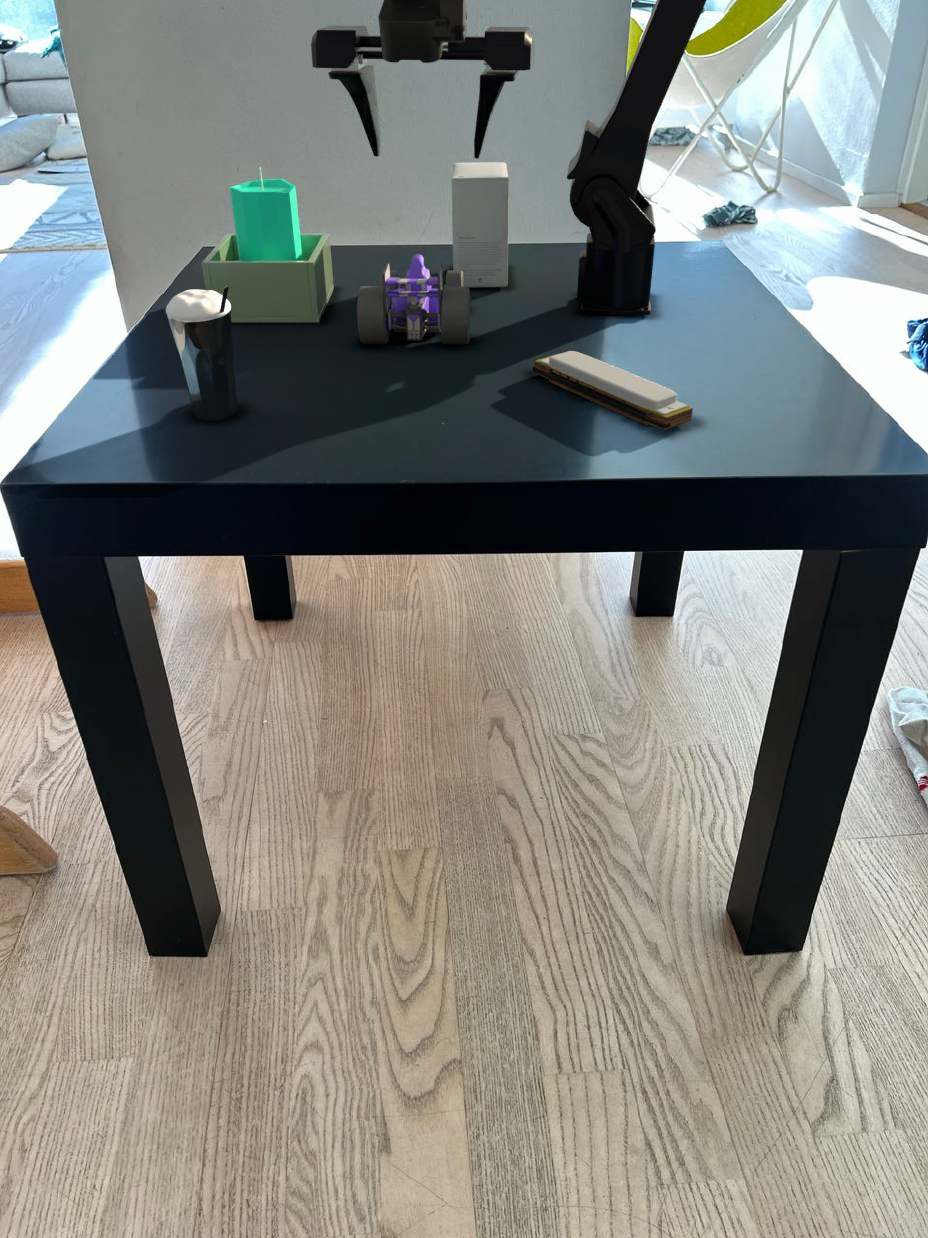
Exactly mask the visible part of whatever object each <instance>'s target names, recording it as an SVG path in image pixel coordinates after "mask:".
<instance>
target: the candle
mask: <svg viewBox="0 0 928 1238" xmlns="http://www.w3.org/2000/svg"><path fill="white" fill-rule="evenodd" d="M258 169H259V174H260V179H256V180H248V181H245V182H242V183H239V184H236V185H232V186H229V192H230V201H231V207H232V214H233V215H232V216H233V223H234V230H235V234H236V238H237V245H238V253H239V260H240V261H303V258H302V247H301V237H300V234H301V228H300V217H299V210H298V207H299V206H298V198H297V197H298V196H297V189H296V188H297V187H296V185H295V184H292V182H289V181H287V180H285V179H284V178H265V179H264V178H263V174H262V173H263V172H262V167H261V166H259V168H258Z"/></svg>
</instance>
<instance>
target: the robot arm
mask: <svg viewBox="0 0 928 1238" xmlns="http://www.w3.org/2000/svg"><path fill="white" fill-rule="evenodd" d="M706 3H707V0H656V1H655V3H654V6H653V8H652V10H651V13H650V16H649V18H648V20H647V23H646V26H645V28H644V31H643V33H642V35H641V38H640V41H639V43H638V46H637V48H636V50H635V53H634V55H633V58H632V60H631V63H630V65H629V68H628V70H627V72H626V75H625V77H624V79H623V81H622V85H621V87H620V90H619V93H618V94H617V97H616V100H615V102H614V104H613V106H612V107H611V109H610V110H609V112H608V114H607V115H606V117H605V119H603V122H602V123H601V124H600V126H599V125H597V124H595V123H594V122H592V121H591V120H589V119H587V120H585V124H584V128H583V133H582V138H581V142H580V145H579V147H578V149H577V152H576V153H575V155H574V156H573V157H572V158H571V159H570V160H569V162H568V168H567V174H566V179H567V180H568V181H570V180H571V183H570V190H569V204H570V207H571V210H572V212H573V215H574V216H575V217H576V219H577V220H578V221H579V222H580V223H581V224H583V225H584V226H586V227H587V228H588V229H589V233H587V234H586V245H585V249H584V250H583V249H582V250H580V252H579V256H578V271H577V273H578V274H577V289H576V291H577V292H576V294H577V295H576V301H577V302H578V303H581V308H580V312H581V313H583V314H593V315H623V316H625V315H627V316H630V315H631V316H649V315H651V313H652V307H651V289H652V281H653V270H654V269H653V268H654V259H655V248H656V240H655V234H656V231H657V230H656V229H657V228H656V221H655V215H654V208H653V205H652V204H651V203H650V202H649V200H648V199H647V198H646V197H645V196H644V194H643V193H642V192H641V191H640V190H639V186H640V185H639V184H640V180H641V177H642V173H643V169H644V164H645V160H646V155H647V151H648V146H649V141H650V137H651V133H652V129H653V126H654V123H655V121H656V119H657V116H658V114H659V112H660V109H661V107H662V104H663V103H664V100H665V98H666V96H667V93H668V91H669V88H670V86H671V84H672V83H673V82H672V81H673V79H674V77H675V75H676V72H677V70H678V68H679V65H680V63H681V61H682V58H683V56H684V54H685V52H686V49H687V46H688V44H689V42H690V41H691V37H692V35H693V33H694V31H695V28H696V27H697V24H698V22H699V19H700V17H701V14H702V13H703V10H704V7H705V5H706ZM467 6H468V5H467V0H383V2H382V4H381V8H380V10H379V13H378V16H377V18H378V27H379V34H378V35H372V34H371V35H370V34H369V31H368V27H367V25H327V26H324V27H321V28H319V29H317V30H316V31H315V33H313V35H312V37H311V43H310V50H311V63H312V64H311V65H312V68H315V69H330V71H327V74H328V78H329V79H330V80H338V81H339V82H340V83H341V84H342V86H343V87H344V88H345V90H346V92H348V94H349V96H350V98H351V100H352V102H353V105H354V106H355V108H356V110H357V114H358V116H359V119H360V121H361V124H362V127H363V129H364V133H365V135H366V138H367V141H368V143H369V147H370V149H371V152H372V154H373V156H374V157H380V155H381V127H380V117H379V116H380V115H379V106H378V98H377V88H376V87H377V86H376V76H375V67H374V65H373V64H372V65H370V64H369V65H367V62H368V60H384V61H385V62H388V63H399V62H400V61H420V62H421V63H423V64H430V63H431V64H432V63H436V62H437V61H483V66H486V67H485V69H484V70H483V71H482V72H481V73H480V75H479V91H478V92H479V93H478V102H477V110H476V119H475V129H474V130H475V131H474V137H473V138H474V139H473V154H474V157H473V158H474V159H475V160H478V159H479V158H480V156H481V154H482V150H483V147H484V144H485V140H486V137H487V133H488V130H489V126H490V123H491V121H492V117H493V114H494V113H493V112H494V110H495V107H496V104H497V102H498V100H499V97H500V95H501V93H502V90H503V87H504V85H505V84H506V83H510V82H515V81H516V80H517V78H518V77H519V75H520V71H530V70H532V68H533V66H534V64H535V47H536V44H535V43H536V35H535V33H534V32H533V31H532V29H531V28H530V27H529V26H489V27H488V28H487V29H486V30H484V35H467V33H468V7H467Z"/></svg>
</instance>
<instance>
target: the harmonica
mask: <svg viewBox="0 0 928 1238" xmlns="http://www.w3.org/2000/svg"><path fill="white" fill-rule="evenodd" d="M532 372H534V373H536V375H539V376H541V377H543V378H546V379H547V380H548V381H549V382H550V383H552V384H553V385H556V386H558V387H560V388H562V389H565V390H567V391H569V392H571V393H573V394H576V395H578V396H579V397H583V398H584V399H586V400H589V401H590V402H591V401H592V402H593V403H595V404H598V405H600V406H602V407H604V408H607V409H608V410H612V411H614V412H615V413H618V414H620V415H622V416H625V417H627V418H629V419H632V420H633V421H636V422H638V423H640V424H643V425H646V426H648V425H651V426H654V427H656V428H658V429H661V430H663V431H665V430H669V429H672V428H675V427H677V426H681V425H683V424H685V423H688V422H691V421H692V418H693V411H694V408H693V407H692V406H690V405H687V404H685V403H683V402H680V401H679V400H677V399H678V393H677V392H675V390H673V389H670V388H668V387H665V386H664V385H661V384H659V383H656V382H654V381H652V380H649V379H646V378H644V377H641V376H639V375H637V374H634V373H632V372H630V371H626V370H625V369H622V368H619V367H617V366H615V365H612V364H609V363H607V362H605V361H601V360H599V359H597V358H596V357H593V356H590V355H587V354H584V353H581V352H579V351H575V350H568V351H565V352H561V353H560V352H559V353H556V354H552V355H549V356H546V357H542V358H539V359H535V360H534V365H533V366H532Z"/></svg>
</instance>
